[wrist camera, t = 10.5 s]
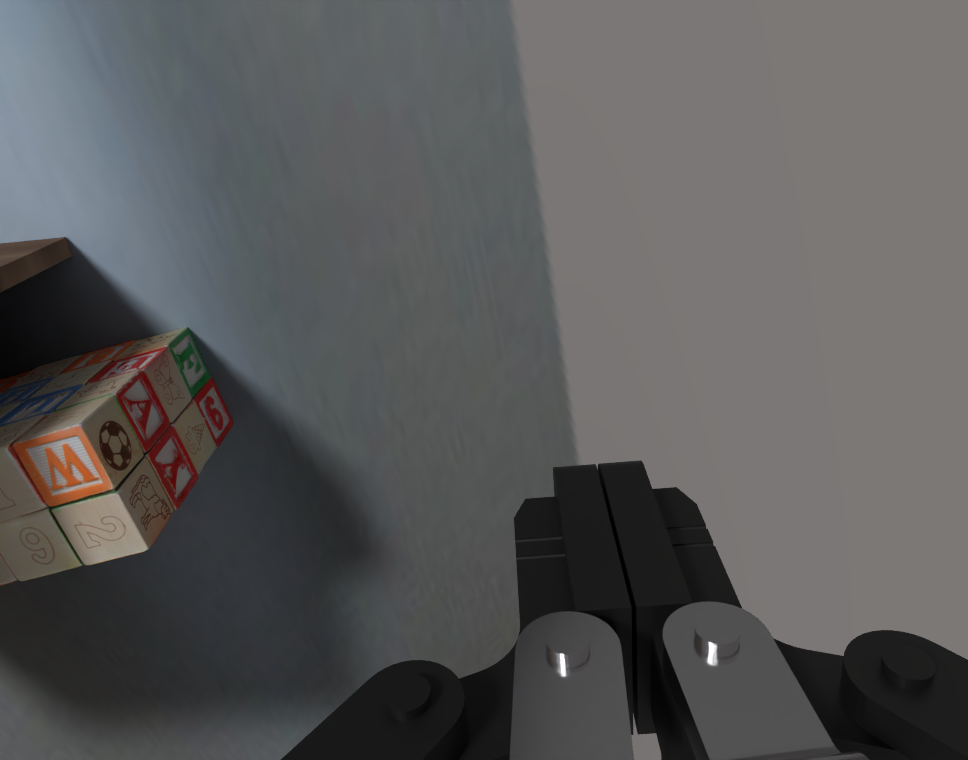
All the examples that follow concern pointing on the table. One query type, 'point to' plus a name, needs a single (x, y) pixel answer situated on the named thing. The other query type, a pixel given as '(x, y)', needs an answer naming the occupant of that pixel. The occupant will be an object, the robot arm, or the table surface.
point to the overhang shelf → (29, 259)
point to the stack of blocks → (102, 452)
